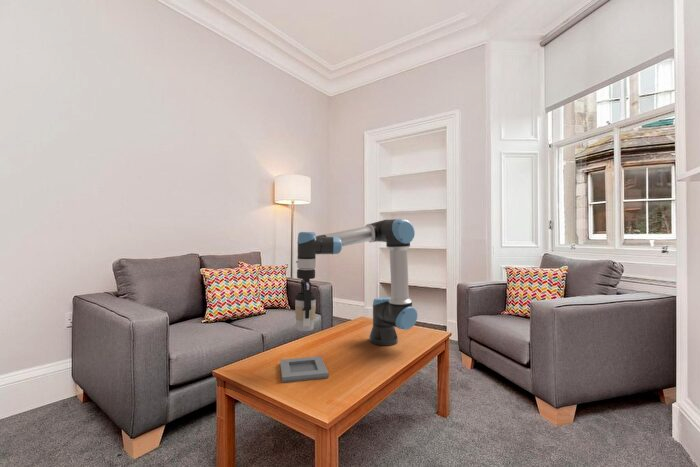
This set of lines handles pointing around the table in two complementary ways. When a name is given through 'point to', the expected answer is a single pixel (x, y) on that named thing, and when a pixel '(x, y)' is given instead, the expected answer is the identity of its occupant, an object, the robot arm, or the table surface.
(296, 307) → the coffee cup
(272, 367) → the table surface
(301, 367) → the frame
